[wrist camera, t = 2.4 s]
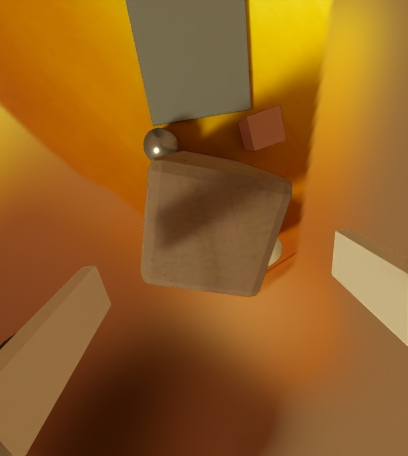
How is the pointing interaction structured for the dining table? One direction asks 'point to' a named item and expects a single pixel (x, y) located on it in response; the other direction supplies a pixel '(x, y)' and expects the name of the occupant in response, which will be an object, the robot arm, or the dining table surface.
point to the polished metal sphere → (160, 143)
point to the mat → (191, 57)
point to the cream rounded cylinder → (276, 252)
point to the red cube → (262, 129)
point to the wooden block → (211, 223)
